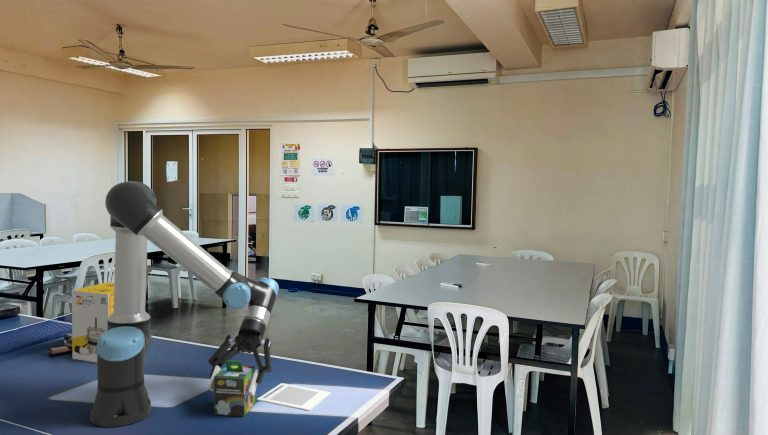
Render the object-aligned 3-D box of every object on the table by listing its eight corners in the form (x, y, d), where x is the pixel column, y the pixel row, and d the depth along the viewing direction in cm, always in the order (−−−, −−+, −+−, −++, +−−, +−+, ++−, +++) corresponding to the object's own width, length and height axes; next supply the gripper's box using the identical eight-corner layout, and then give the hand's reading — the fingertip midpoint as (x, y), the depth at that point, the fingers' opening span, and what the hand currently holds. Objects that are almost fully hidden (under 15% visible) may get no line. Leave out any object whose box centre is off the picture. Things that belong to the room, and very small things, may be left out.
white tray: (309, 410, 155) (309, 409, 155) (256, 400, 161) (256, 398, 161) (331, 393, 168) (331, 392, 168) (281, 383, 174) (281, 382, 174)
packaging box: (72, 359, 192) (71, 290, 190) (107, 345, 207) (107, 282, 205) (108, 364, 187) (108, 294, 185) (142, 350, 202) (142, 285, 201)
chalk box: (255, 404, 159) (256, 355, 157) (244, 417, 149) (245, 365, 148) (225, 401, 159) (226, 353, 158) (212, 415, 150) (213, 363, 149)
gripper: (294, 333, 166) (274, 401, 152) (222, 326, 170) (196, 392, 156) (288, 320, 160) (266, 390, 146) (214, 314, 165) (187, 381, 151)
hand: (230, 391), depth 151 cm, fingers open, 12 cm apart
